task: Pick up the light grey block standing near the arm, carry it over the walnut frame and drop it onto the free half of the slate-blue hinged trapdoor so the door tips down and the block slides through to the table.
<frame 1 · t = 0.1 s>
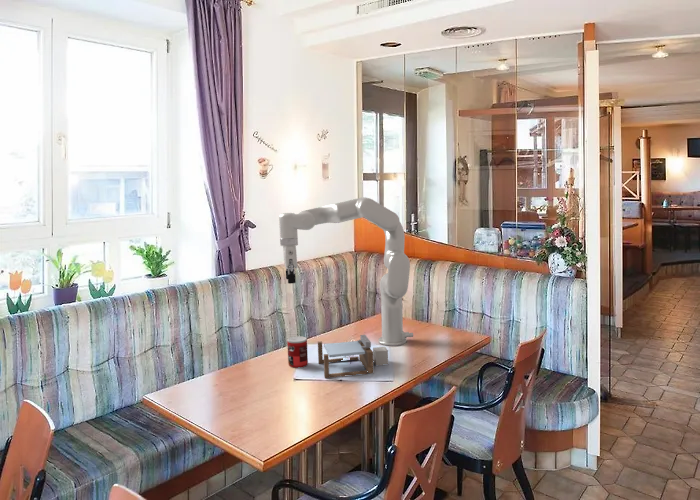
hand: (290, 281, 251), 31 cm above the table, fingers open, 9 cm apart
light grey block: (380, 363, 237), on the table
canned food: (298, 365, 237), on the table
frame: (362, 366, 233), on the table
trapdoor: (347, 344, 231), point 9 cm above the table, hinge at -0.3°
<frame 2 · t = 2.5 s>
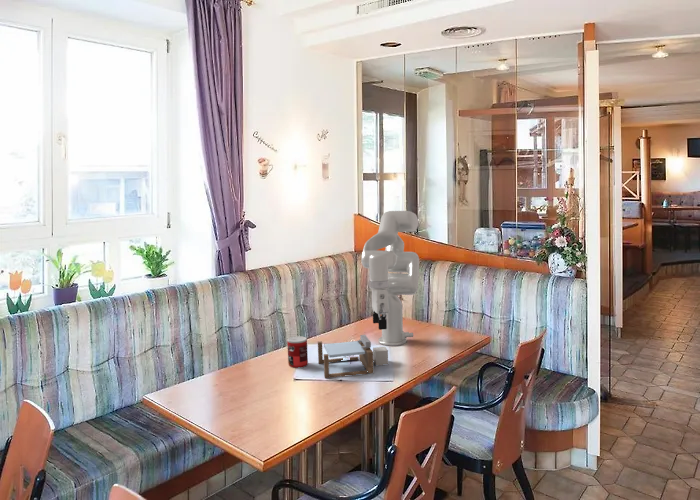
hand: (379, 326, 234), 16 cm above the table, fingers open, 9 cm apart
trapdoor: (347, 345, 231), point 9 cm above the table, hinge at -0.7°
everything else where it was.
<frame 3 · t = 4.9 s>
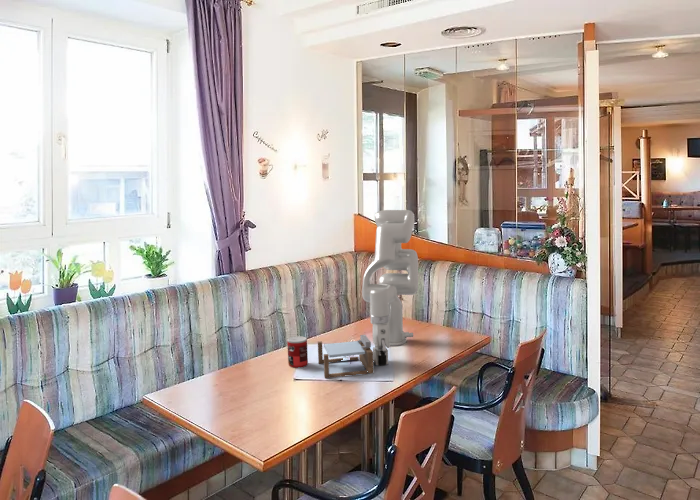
hand: (380, 361, 237), 0 cm above the table, fingers closed on light grey block, 5 cm apart
light grey block: (380, 363, 237), on the table, touching gripper
everything else where it was.
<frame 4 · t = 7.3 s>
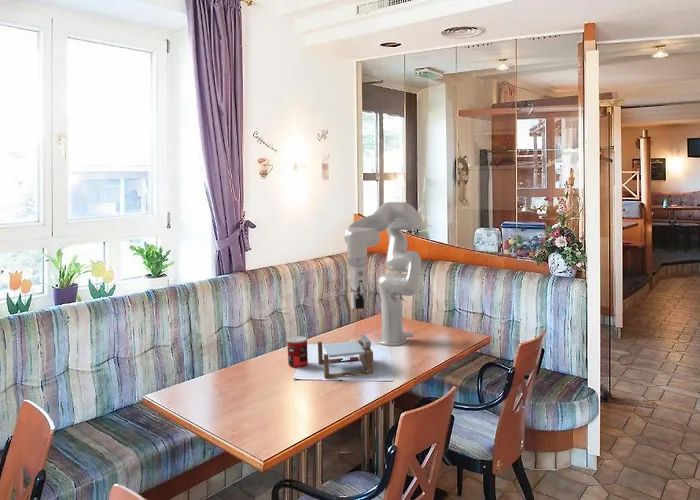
hand: (358, 306, 230), 25 cm above the table, fingers closed on light grey block, 5 cm apart
light grey block: (358, 307, 230), point 24 cm above the table, touching gripper
everything else where it was.
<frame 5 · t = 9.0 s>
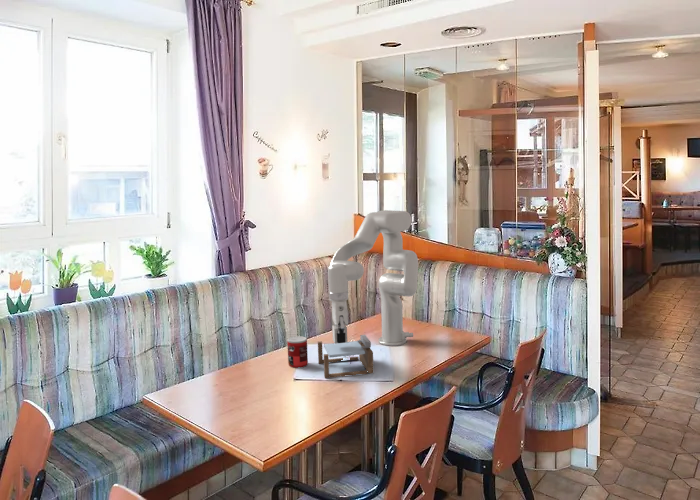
hand: (340, 340, 230), 12 cm above the table, fingers closed on light grey block, 5 cm apart
light grey block: (340, 341, 230), point 11 cm above the table, touching gripper
everything else where it was.
when the fingers open (12 cm above the table, at t = 9.7 s): light grey block drops 9 cm and tips over, point 2 cm above the table.
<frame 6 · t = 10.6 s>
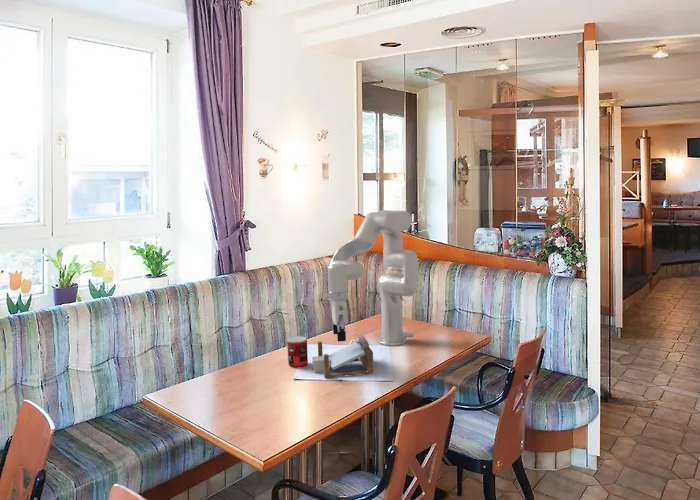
hand: (339, 337, 230), 13 cm above the table, fingers open, 9 cm apart
light grey block: (328, 363, 231), point 2 cm above the table, tilted 90°
trapdoor: (347, 350, 231), point 7 cm above the table, hinge at -21.8°
everything else where it was.
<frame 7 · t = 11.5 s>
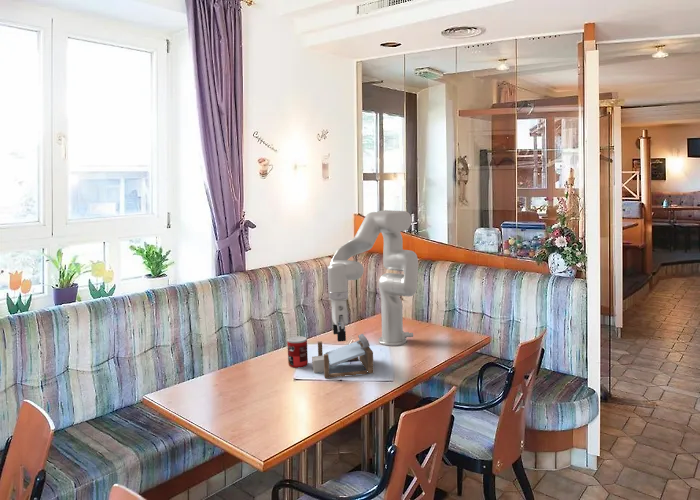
hand: (339, 337, 230), 13 cm above the table, fingers open, 9 cm apart
light grey block: (328, 363, 231), point 3 cm above the table, tilted 91°, touching trapdoor
trapdoor: (347, 348, 231), point 8 cm above the table, hinge at -15.6°, touching light grey block
everything else where it was.
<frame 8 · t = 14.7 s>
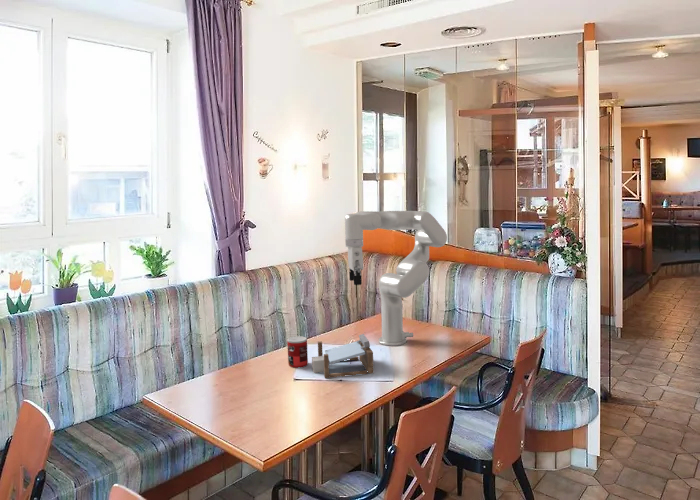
hand: (355, 282, 249), 30 cm above the table, fingers open, 9 cm apart
light grey block: (327, 363, 231), point 2 cm above the table, tilted 90°
trapdoor: (347, 347, 231), point 8 cm above the table, hinge at -11.6°
everything else where it was.
at the end: light grey block point 2.3 cm above the table; the gripper is holding nothing; light grey block moved 22.2 cm from its start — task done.
